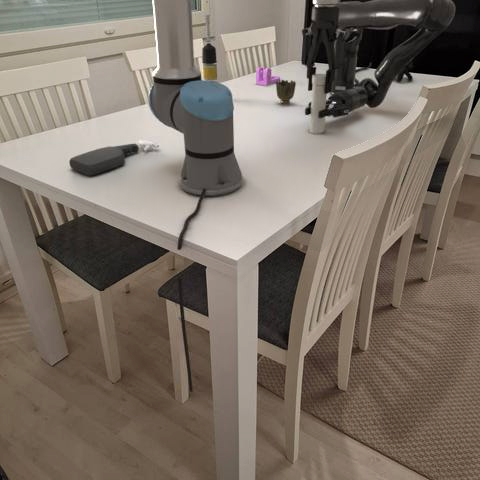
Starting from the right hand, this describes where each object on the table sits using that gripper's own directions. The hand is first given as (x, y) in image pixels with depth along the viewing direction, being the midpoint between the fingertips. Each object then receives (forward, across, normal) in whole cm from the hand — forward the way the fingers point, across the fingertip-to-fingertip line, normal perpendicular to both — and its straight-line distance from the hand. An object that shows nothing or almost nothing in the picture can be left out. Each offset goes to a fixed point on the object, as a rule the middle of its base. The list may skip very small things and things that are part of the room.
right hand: (312, 113), depth 138 cm
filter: (-7, -55, +6) cm, 56 cm away
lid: (-3, 0, -10) cm, 11 cm away
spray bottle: (+54, -26, +6) cm, 61 cm away
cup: (-21, -28, +6) cm, 36 cm away
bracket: (-44, -57, +6) cm, 72 cm away
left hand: (-3, 0, -6) cm, 7 cm away
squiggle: (-85, -15, +6) cm, 86 cm away
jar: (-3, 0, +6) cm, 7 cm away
